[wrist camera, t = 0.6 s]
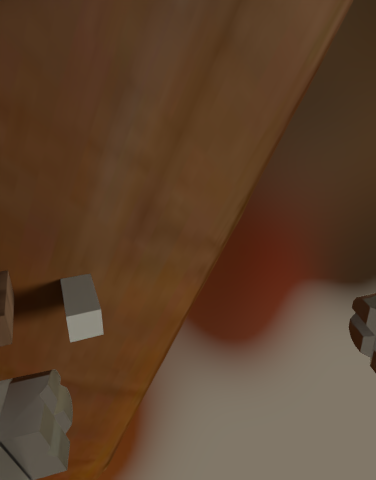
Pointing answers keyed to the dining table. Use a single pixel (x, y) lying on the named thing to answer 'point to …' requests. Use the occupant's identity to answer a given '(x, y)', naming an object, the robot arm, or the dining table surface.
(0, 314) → the walnut pillar
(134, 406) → the dining table surface
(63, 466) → the robot arm
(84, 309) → the grey pillar
